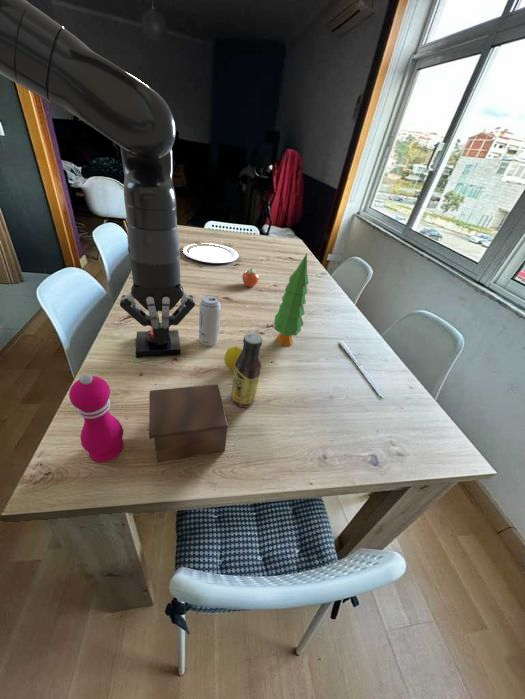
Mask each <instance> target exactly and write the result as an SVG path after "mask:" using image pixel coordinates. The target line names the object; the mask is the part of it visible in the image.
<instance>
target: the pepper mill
mask: <svg viewBox="0 0 525 699" xmlns="http://www.w3.org/2000/svg"><path fill="white" fill-rule="evenodd" d="M68 397H69V401H70V403H71V405H72V406H73V407H74V408H76V410H77V413H78V415H79V416H80V417H81V418H83V420H84V423H83V426H82V429H81V432H80V443H81V444H80V445H81V446H82V449H84V450H85V451H87V453H88V457H89V459H91V460H92V461H94V462H96V463H107V462H109V461H112V460H115V459H116V458H117V457H118V456H119V455H120V454H121V453H122V452H123V449H124V440H123V437H124V428H123V425H122V423H121V422H120V421H119V419H117V417H115V416H114V415H113V414H111V412H110V411H109V410H110V408H111V400H110V397H111V387H110V385H109V384H108V382H107V381H106V380H105V379H104V378H102V377H99V376H94V375H92V374H90V373H84V374H81V375H80V376H79V379H78V380H76V381H75V382H74V383H73V384H72V385H71V387H70V389H69V394H68Z"/></svg>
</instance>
